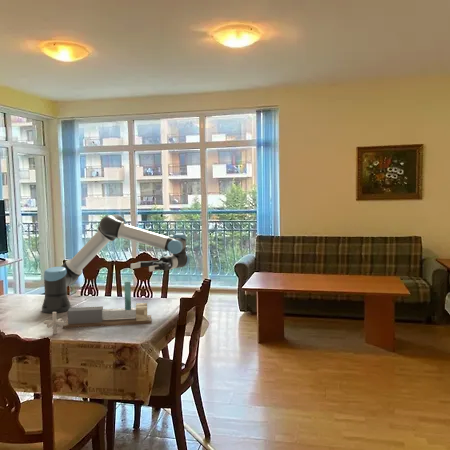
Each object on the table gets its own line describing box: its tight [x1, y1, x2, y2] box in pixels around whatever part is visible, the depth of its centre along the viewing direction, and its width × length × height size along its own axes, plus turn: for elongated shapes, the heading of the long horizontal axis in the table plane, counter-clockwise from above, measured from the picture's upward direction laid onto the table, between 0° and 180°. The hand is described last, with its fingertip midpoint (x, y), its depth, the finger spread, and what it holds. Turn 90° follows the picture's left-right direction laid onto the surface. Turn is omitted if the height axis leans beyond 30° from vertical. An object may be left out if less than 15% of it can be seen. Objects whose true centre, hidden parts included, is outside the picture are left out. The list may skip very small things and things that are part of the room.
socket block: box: [135, 302, 148, 321], centre depth 230 cm, size 9×6×7 cm, turn 10°
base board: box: [62, 314, 152, 329], centre depth 228 cm, size 12×42×1 cm, turn 100°
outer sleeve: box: [67, 306, 104, 324], centre depth 225 cm, size 6×16×6 cm, turn 100°
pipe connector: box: [43, 312, 66, 335], centre depth 210 cm, size 10×10×10 cm
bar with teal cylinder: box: [102, 281, 136, 319], centre depth 228 cm, size 4×24×18 cm, turn 100°
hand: (140, 267), depth 237 cm, fingers open, 13 cm apart
